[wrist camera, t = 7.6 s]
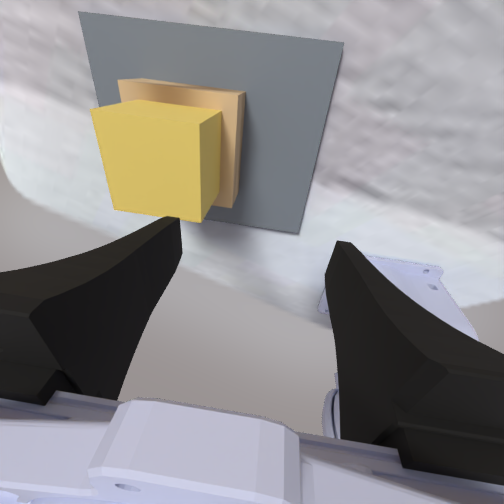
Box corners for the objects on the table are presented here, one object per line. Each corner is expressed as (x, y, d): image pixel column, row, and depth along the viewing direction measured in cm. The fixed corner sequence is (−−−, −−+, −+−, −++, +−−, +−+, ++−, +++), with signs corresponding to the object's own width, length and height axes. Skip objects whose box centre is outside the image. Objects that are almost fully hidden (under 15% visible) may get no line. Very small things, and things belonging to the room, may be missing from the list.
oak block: (245, 91, 17) (238, 95, 14) (238, 191, 21) (231, 208, 18) (142, 78, 17) (117, 79, 15) (155, 180, 21) (137, 194, 19)
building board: (342, 43, 15) (344, 42, 15) (297, 229, 23) (298, 233, 22) (84, 13, 16) (78, 11, 15) (124, 204, 24) (121, 206, 23)
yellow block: (221, 110, 15) (199, 124, 11) (219, 191, 18) (201, 222, 14) (138, 99, 15) (89, 109, 11) (149, 181, 18) (114, 209, 14)
